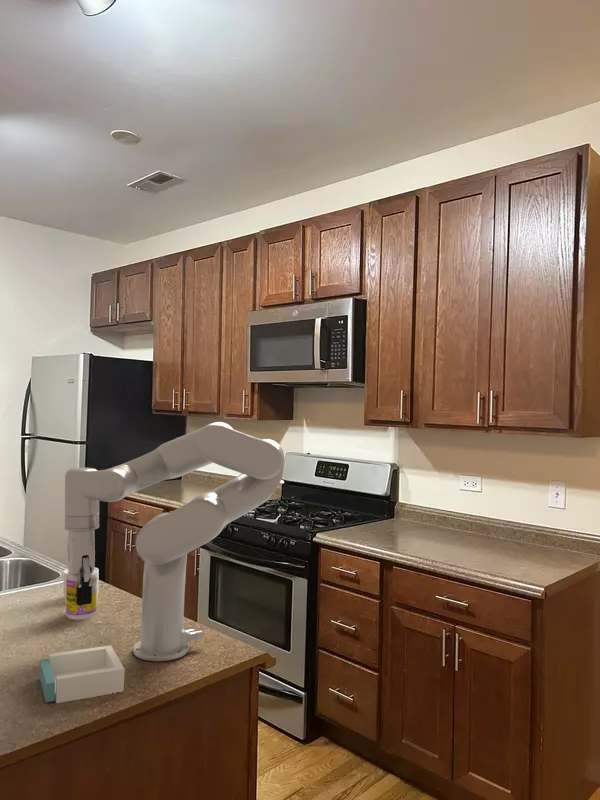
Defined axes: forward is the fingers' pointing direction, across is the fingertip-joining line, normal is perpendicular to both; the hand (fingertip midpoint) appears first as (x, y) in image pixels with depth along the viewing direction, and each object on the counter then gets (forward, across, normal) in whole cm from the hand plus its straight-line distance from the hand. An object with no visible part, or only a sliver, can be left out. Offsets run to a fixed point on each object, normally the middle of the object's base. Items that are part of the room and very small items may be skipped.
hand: (81, 598), depth 145 cm
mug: (+11, -25, +3) cm, 27 cm away
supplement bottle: (+4, 0, 0) cm, 4 cm away
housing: (+12, +19, -2) cm, 22 cm away
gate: (+11, +19, -9) cm, 24 cm away
